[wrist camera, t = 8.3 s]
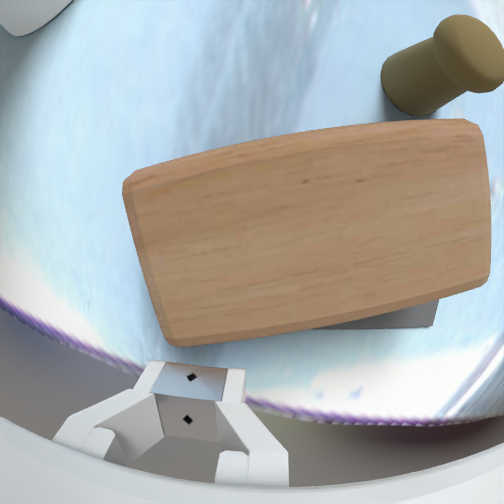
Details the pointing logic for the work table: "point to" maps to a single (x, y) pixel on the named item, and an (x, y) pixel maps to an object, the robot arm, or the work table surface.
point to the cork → (444, 66)
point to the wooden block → (311, 228)
